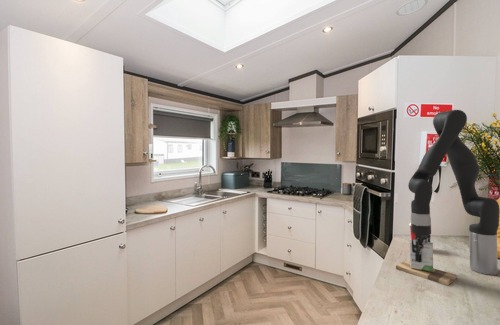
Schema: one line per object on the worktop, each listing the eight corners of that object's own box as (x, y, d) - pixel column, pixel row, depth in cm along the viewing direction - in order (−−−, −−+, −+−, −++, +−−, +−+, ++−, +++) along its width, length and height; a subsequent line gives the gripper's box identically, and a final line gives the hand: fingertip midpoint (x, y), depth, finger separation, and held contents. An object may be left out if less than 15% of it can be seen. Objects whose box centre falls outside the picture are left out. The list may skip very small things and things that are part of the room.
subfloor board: (405, 263, 125) (405, 260, 125) (456, 278, 108) (456, 274, 108) (395, 269, 119) (395, 265, 119) (447, 285, 103) (447, 281, 103)
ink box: (410, 267, 115) (409, 242, 115) (411, 263, 119) (410, 238, 119) (433, 272, 110) (432, 245, 110) (433, 267, 114) (432, 241, 114)
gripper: (418, 218, 122) (419, 253, 122) (404, 224, 113) (405, 261, 114) (436, 221, 115) (437, 258, 116) (423, 227, 107) (424, 267, 107)
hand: (421, 259), depth 115 cm, fingers closed on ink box, 6 cm apart
